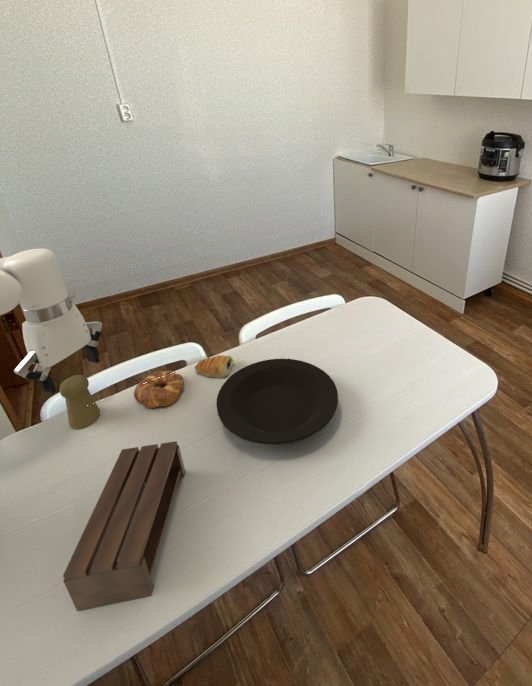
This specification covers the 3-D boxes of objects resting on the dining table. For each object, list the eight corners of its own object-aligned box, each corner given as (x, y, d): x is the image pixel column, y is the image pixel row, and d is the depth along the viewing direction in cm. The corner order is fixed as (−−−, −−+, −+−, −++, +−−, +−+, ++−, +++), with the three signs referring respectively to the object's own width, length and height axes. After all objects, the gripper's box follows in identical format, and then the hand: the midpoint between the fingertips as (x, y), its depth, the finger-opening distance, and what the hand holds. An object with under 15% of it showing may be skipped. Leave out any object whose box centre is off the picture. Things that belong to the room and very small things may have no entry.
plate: (194, 432, 83) (190, 412, 81) (263, 365, 104) (261, 348, 102) (302, 483, 72) (300, 462, 70) (356, 396, 92) (356, 378, 90)
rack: (76, 611, 55) (60, 576, 52) (130, 480, 73) (120, 449, 71) (151, 595, 56) (139, 561, 54) (185, 471, 75) (178, 440, 72)
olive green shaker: (73, 412, 89) (60, 374, 85) (103, 405, 91) (91, 367, 87) (65, 432, 84) (50, 393, 80) (97, 424, 86) (84, 385, 82)
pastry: (191, 379, 99) (189, 367, 98) (201, 362, 105) (199, 350, 104) (227, 378, 99) (225, 366, 98) (235, 361, 105) (233, 350, 104)
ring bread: (193, 394, 94) (190, 382, 93) (145, 419, 87) (141, 407, 86) (175, 370, 102) (173, 359, 101) (130, 392, 95) (127, 380, 94)
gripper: (77, 285, 86) (98, 348, 93) (-14, 329, 71) (17, 400, 77) (101, 290, 84) (120, 354, 90) (11, 337, 69) (42, 409, 75)
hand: (73, 375), depth 84 cm, fingers open, 9 cm apart
